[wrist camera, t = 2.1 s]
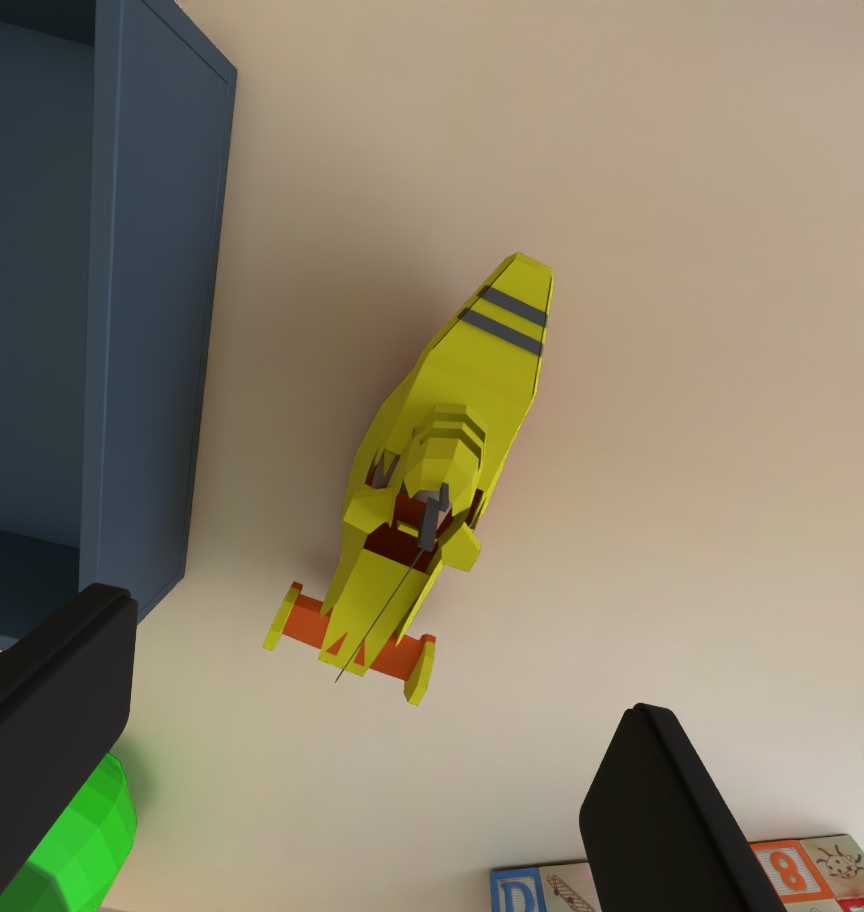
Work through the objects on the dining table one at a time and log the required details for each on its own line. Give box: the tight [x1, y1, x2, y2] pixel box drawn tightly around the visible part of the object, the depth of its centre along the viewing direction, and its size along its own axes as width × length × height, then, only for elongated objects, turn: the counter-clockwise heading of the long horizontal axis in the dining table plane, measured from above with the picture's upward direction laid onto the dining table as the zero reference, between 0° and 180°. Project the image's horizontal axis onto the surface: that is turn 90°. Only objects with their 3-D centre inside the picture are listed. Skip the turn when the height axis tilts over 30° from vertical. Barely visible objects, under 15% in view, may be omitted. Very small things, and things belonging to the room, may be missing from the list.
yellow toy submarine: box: [263, 252, 554, 706], centre depth 18 cm, size 6×18×10 cm, turn 156°
